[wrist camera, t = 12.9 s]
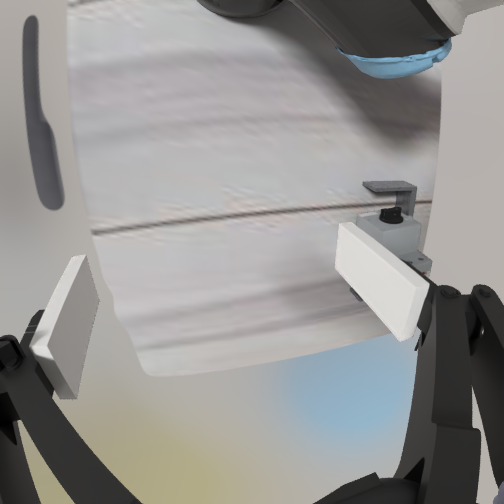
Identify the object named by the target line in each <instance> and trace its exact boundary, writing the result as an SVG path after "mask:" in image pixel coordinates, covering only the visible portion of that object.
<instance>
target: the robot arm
mask: <svg viewBox="0 0 504 504" xmlns="http://www.w3.org/2000/svg"><path fill="white" fill-rule="evenodd" d="M197 1H198V2H199V3H200V4H201V5H203V6H204V7H206V8H207V9H209V10H211V11H213V12H215V13H217V14H220V15H223V16H227V17H233V18H253V17H258V16H262V15H265V14H267V13H269V12H271V11H273V10H275V9H276V8H277V7H279V6H280V5H281V4H282V3H283V2H285V1H286V0H197ZM289 1H290V2H292V3H293V4H294V5H295V6H296V7H297V8H298V9H299V10H300V11H301V12H303V13H304V14H305V15H306V16H307V17H308V18H309V19H310V20H311V21H312V22H313V23H314V24H315V25H316V26H317V27H318V28H319V29H320V30H321V31H322V32H323V33H324V34H325V35H326V36H327V37H328V38H329V39H330V40H331V41H332V42H333V43H334V44H335V45H336V48H337V50H338V51H339V52H340V53H341V54H343V55H345V56H346V57H347V58H348V59H349V60H350V61H351V62H352V63H353V64H354V65H355V66H356V67H357V68H358V69H359V70H360V71H362V72H363V73H365V74H368V75H369V76H372V77H375V78H382V79H393V78H401V77H406V76H410V75H413V74H417V73H420V72H422V71H425V70H427V69H429V68H431V67H432V66H433V63H435V62H441V61H442V60H443V59H444V58H445V57H446V56H447V55H448V54H449V52H450V50H451V47H452V44H451V37H453V36H456V35H459V34H461V32H462V28H463V24H464V20H465V18H466V17H467V15H469V14H473V13H475V12H479V11H482V10H485V9H488V8H492V7H495V6H499V5H503V4H504V0H289ZM335 269H336V270H337V271H338V272H339V273H340V274H341V276H342V277H343V278H344V279H345V280H346V281H347V282H348V283H349V284H350V285H351V287H352V288H353V289H354V290H355V291H356V292H357V293H358V294H359V296H360V297H361V298H362V299H363V300H364V301H365V302H366V303H367V305H368V306H369V307H370V308H371V309H372V310H373V311H374V312H375V314H376V315H377V316H378V317H379V318H380V319H381V321H382V322H383V323H384V324H385V325H386V326H387V327H388V329H389V330H390V331H391V332H392V333H393V334H394V335H395V337H396V338H397V339H398V340H399V341H403V340H406V339H409V338H411V337H413V335H414V332H415V329H416V327H418V328H419V329H420V330H421V334H420V337H419V339H418V342H417V345H416V347H415V351H417V349H418V357H417V367H416V376H415V384H414V391H413V398H412V405H411V411H410V417H409V423H408V428H407V433H406V438H405V443H404V447H403V452H402V456H401V461H400V464H399V466H398V469H397V471H396V473H395V475H394V477H393V478H380V479H379V477H378V476H377V474H376V473H375V472H374V473H372V474H370V475H367V476H365V477H363V478H360V479H358V480H355V481H352V482H350V483H347V484H345V485H343V486H341V487H340V488H338V489H336V490H335V491H334V492H332V493H330V494H329V495H327V496H325V497H324V498H322V499H320V500H319V501H317V502H315V503H313V504H478V503H476V497H477V490H478V481H479V470H480V455H481V432H480V430H479V429H477V428H473V427H472V387H473V390H474V394H475V397H476V400H477V404H478V408H479V412H480V415H481V419H482V423H483V428H484V432H485V436H486V441H487V445H488V450H489V456H490V461H491V466H492V470H493V474H494V477H495V480H496V484H497V486H498V489H499V491H498V495H497V496H496V497H495V498H494V500H493V504H504V305H503V304H502V302H501V300H500V299H499V297H498V295H497V294H496V293H495V291H494V290H493V289H491V288H490V287H489V286H486V285H481V284H479V285H475V286H474V287H473V290H472V292H471V294H470V295H461V293H460V292H459V291H458V290H457V289H455V288H453V287H451V286H448V285H441V286H437V285H436V284H435V283H434V282H432V281H431V280H430V279H429V278H428V277H426V276H425V275H424V274H423V273H422V274H421V272H420V271H419V270H418V269H416V268H415V267H414V266H413V265H412V264H410V263H409V262H407V261H405V260H402V259H399V258H397V257H396V256H395V255H394V254H392V253H391V252H390V251H389V250H387V249H386V248H385V247H384V246H382V245H381V244H380V243H378V242H377V241H376V240H375V239H373V238H372V237H371V236H369V235H368V234H367V233H365V232H364V231H363V230H361V229H360V228H359V227H357V226H356V225H355V224H353V223H352V222H346V223H339V231H338V241H337V251H336V261H335ZM99 302H100V300H99V297H98V294H97V291H96V288H95V284H94V281H93V278H92V274H91V271H90V267H89V263H88V260H87V256H86V255H79V256H73V257H72V258H71V260H70V262H69V264H68V266H67V268H66V270H65V271H64V273H63V275H62V277H61V279H60V281H59V283H58V285H57V287H56V289H55V291H54V293H53V295H52V297H51V299H50V301H49V303H48V305H47V307H46V309H45V310H39V311H38V312H37V313H36V314H35V315H34V316H33V317H32V319H31V321H30V323H29V325H28V327H27V329H26V331H25V334H24V336H23V338H22V340H21V342H20V344H19V342H18V340H17V339H16V337H14V336H13V335H4V336H2V337H0V504H41V502H40V500H39V497H38V494H37V491H36V488H35V485H34V482H33V480H32V476H31V473H30V470H29V467H28V463H27V459H26V456H25V452H24V448H23V445H22V441H21V436H20V432H19V428H18V422H17V420H22V422H23V424H24V426H25V428H26V429H27V431H28V433H29V435H30V437H31V439H32V440H33V442H34V444H35V445H36V447H37V449H38V450H39V452H40V454H41V455H42V457H43V458H44V460H45V462H46V463H47V465H48V466H49V468H50V469H51V471H52V472H53V474H54V475H55V477H56V478H57V480H58V481H59V483H60V484H61V485H62V487H63V488H64V489H65V491H66V492H67V494H68V495H69V496H70V497H71V499H72V500H73V501H74V503H75V504H142V503H141V502H140V501H139V500H138V499H137V498H136V497H135V496H134V495H132V493H131V492H129V490H128V489H127V488H126V487H124V485H123V484H122V483H121V482H120V481H119V480H118V479H117V478H116V477H115V476H114V475H113V474H112V473H111V472H110V471H109V470H108V469H107V467H106V466H105V465H104V464H103V463H102V462H101V461H100V460H99V458H98V457H97V456H96V455H95V454H94V453H93V451H92V450H91V449H90V448H89V447H88V445H87V444H86V443H85V442H84V441H83V439H82V438H81V437H80V436H79V434H78V433H77V432H76V430H75V429H74V428H73V427H72V425H71V424H70V423H69V421H68V420H67V418H66V417H65V416H64V414H63V413H62V412H61V410H60V409H59V407H58V406H57V405H56V403H55V402H54V400H53V399H52V396H53V392H54V390H55V392H56V394H57V395H58V397H59V398H60V399H77V397H78V391H79V386H80V381H81V376H82V371H83V366H84V361H85V357H86V352H87V348H88V344H89V340H90V336H91V332H92V328H93V324H94V320H95V316H96V312H97V309H98V305H99ZM483 329H484V332H483V334H482V331H483Z"/></svg>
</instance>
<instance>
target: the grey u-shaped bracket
mask: <svg viewBox="0 0 504 504" xmlns="http://www.w3.org/2000/svg"><path fill="white" fill-rule="evenodd" d="M363 186H365V187H367V188H369V189H371V190H373V191H375V192H383V191H397V199H396V207H401V208H402V210H401V212H402V213H403V214H405V215H407V216H412V217H413V213H414V207H415V200H416V192H417V187H416V186H414V185H412V184H410V183H407V182H405V181H371V182H363ZM350 291H351V292H352V293H353V294H354V296H355V297H356V298H357V299H358V300H359V301H364V300H363V299H362V298H361V297H360V296H359V294H358V293H357V292H356V291H355V290H354V289H353V288H352V287H351V288H350Z"/></svg>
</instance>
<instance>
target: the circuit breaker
mask: <svg viewBox="0 0 504 504" xmlns="http://www.w3.org/2000/svg"><path fill="white" fill-rule="evenodd" d="M401 210H402V208H401V207H394V208H389V209H387V208H385V209H381V210H379V211H378V212H375V211H373V212H367V213H361V214H357V224H356V226H357V227H359V228H360V229H361V230H363V231H364V232H365V233H367V234H368V235H369V236H371V237H372V238H373V239H375V240H376V241H377V242H378V243H380V244H381V245H382V246H384V247H385V248H386V249H387V250H389V251H390V252H391V253H392V254H394V255H395V256H396V257H397V258H399V259H402V260H405V261H407V262H409V263H410V264H412V265H413V266H414V267H415V268H416V269H418V270H419V271H420V272H421V274H422V273H423V274H424V275H425V276H426V277H428V278H429V276H430V271H431V266H432V260H431V259H429V258H428V257H427V256H425V255H424V254H423V253H421V252H420V251H418V245H419V238H420V230H421V224H420V223H418V222H417V221H415V220H414V219H413V217H412V216H407V215H405V214H403V213H402V212H401Z"/></svg>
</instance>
